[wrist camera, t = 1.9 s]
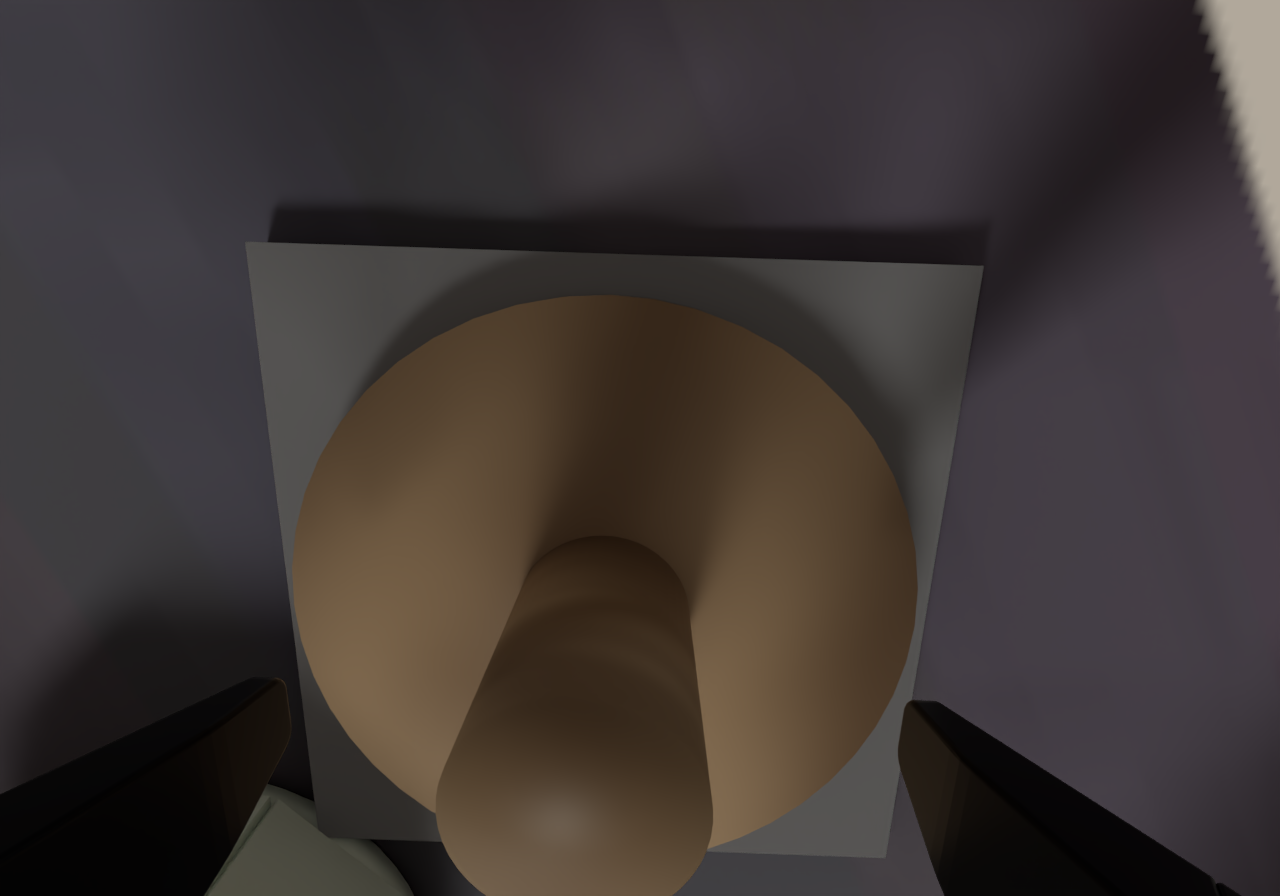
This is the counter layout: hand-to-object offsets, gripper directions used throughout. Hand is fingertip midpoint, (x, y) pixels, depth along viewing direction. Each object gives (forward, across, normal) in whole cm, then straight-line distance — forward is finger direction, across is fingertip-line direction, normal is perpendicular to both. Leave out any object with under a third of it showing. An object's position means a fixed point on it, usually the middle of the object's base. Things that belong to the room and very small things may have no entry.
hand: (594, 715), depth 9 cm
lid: (+4, 0, 0) cm, 4 cm away
